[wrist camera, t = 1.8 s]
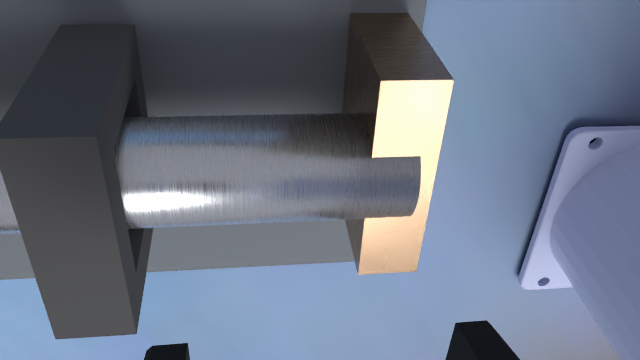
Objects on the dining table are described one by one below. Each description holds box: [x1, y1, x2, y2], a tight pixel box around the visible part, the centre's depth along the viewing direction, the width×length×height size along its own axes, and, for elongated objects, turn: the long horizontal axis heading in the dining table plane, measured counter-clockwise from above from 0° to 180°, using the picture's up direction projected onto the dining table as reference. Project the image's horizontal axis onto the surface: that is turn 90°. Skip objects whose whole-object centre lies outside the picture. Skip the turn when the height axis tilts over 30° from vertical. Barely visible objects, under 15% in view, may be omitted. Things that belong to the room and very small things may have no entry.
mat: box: [0, 0, 427, 280], centre depth 19 cm, size 20×14×1 cm
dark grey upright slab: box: [0, 25, 153, 339], centre depth 16 cm, size 2×6×6 cm, turn 177°
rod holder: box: [0, 13, 454, 275], centre depth 17 cm, size 19×6×5 cm, turn 87°
